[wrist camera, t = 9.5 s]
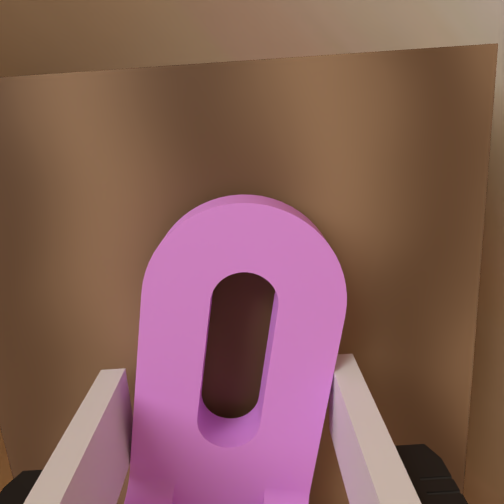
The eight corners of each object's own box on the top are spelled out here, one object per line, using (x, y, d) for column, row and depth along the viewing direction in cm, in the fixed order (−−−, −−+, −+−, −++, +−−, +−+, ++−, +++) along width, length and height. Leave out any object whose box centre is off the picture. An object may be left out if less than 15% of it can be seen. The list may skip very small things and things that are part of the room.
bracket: (285, 556, 17) (312, 850, 10) (132, 542, 16) (53, 834, 10) (353, 207, 13) (464, 299, 6) (158, 182, 13) (62, 252, 6)
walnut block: (90, 515, 23) (49, 621, 18) (5, 93, 17) (-87, 83, 12) (410, 495, 23) (454, 596, 18) (427, 65, 17) (497, 43, 12)
